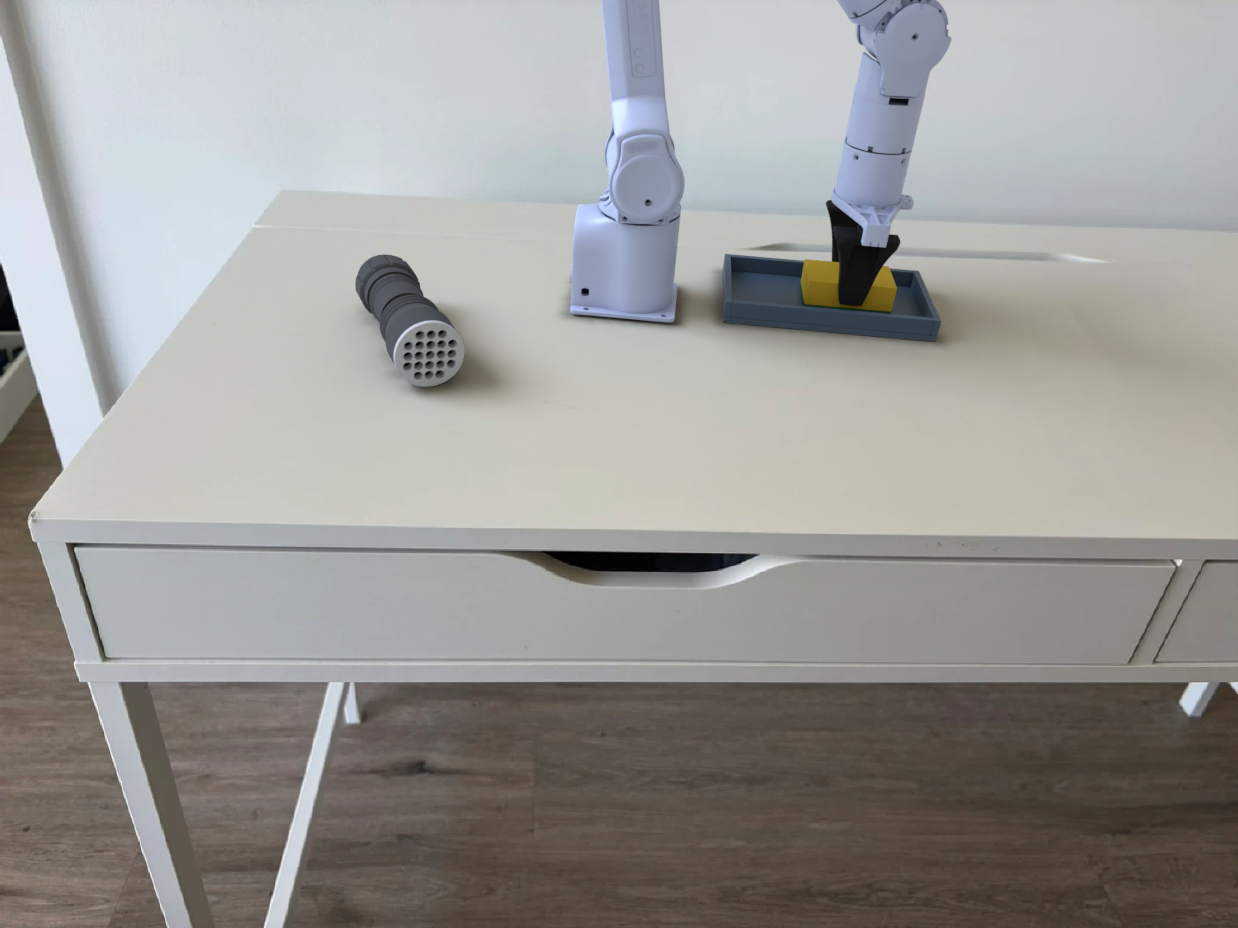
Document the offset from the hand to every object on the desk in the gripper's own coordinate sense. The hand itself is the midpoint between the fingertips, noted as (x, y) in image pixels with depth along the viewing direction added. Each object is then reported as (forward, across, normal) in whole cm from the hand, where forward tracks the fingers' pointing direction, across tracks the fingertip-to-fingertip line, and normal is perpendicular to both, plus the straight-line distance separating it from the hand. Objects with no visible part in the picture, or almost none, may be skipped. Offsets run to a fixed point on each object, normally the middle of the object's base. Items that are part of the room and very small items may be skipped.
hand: (846, 291), depth 87 cm
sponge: (+1, 0, 0) cm, 1 cm away
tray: (+2, 0, +2) cm, 3 cm away
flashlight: (+2, -15, +38) cm, 41 cm away
